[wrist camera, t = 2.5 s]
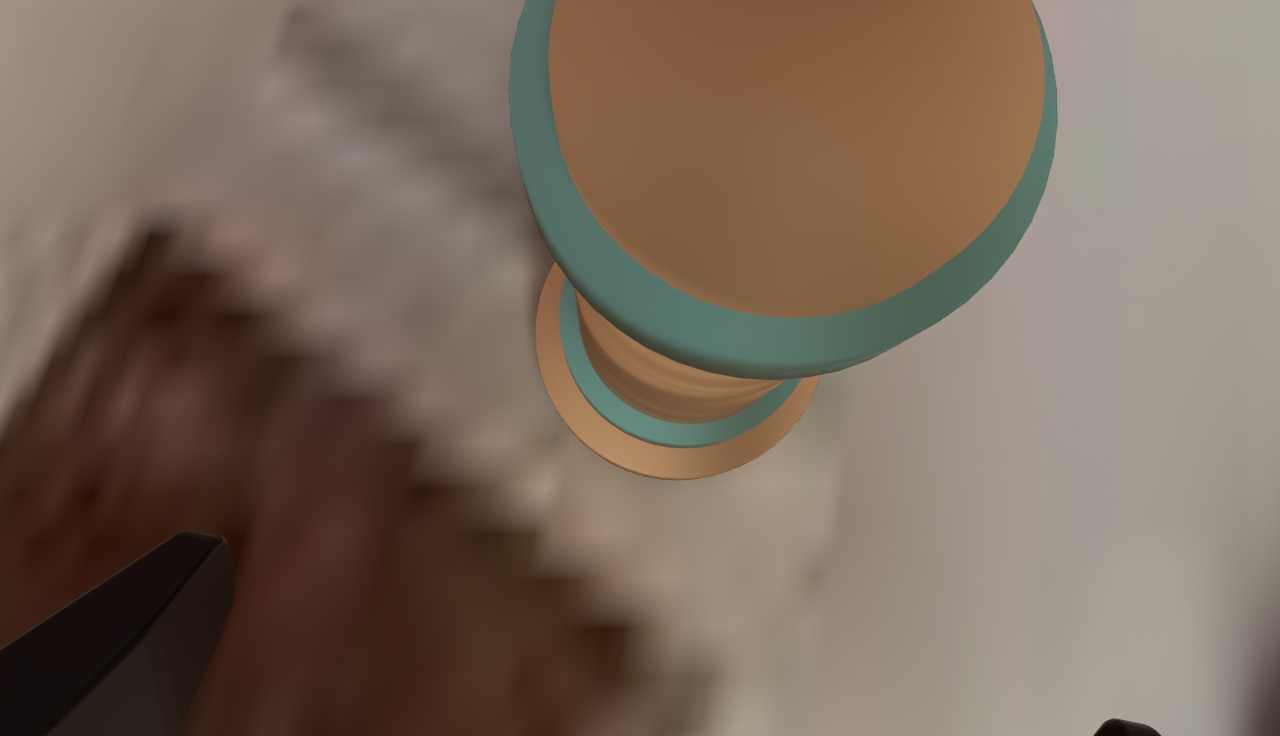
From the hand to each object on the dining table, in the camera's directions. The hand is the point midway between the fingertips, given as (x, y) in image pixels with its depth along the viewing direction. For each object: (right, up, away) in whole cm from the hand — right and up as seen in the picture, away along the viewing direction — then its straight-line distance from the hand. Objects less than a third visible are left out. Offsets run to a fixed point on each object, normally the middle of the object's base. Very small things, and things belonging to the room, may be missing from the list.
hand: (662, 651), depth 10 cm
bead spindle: (+1, +3, +13) cm, 13 cm away
